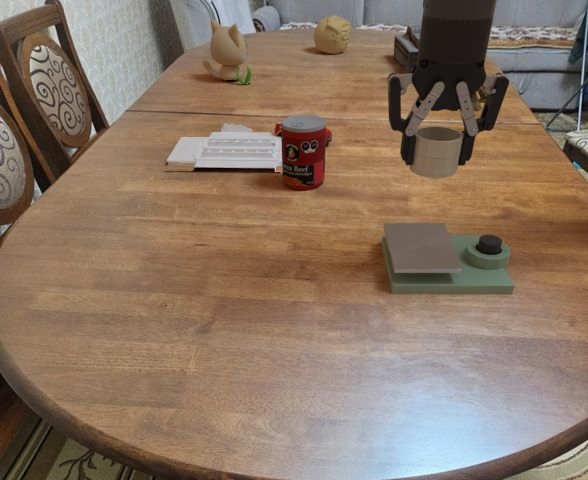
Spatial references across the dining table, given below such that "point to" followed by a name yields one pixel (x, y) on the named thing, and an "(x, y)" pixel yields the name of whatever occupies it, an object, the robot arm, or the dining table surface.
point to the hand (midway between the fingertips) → (434, 162)
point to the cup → (437, 151)
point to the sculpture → (332, 34)
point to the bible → (407, 47)
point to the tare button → (489, 244)
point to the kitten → (227, 52)
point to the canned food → (303, 151)
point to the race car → (278, 132)
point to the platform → (421, 248)
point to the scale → (474, 280)
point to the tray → (230, 149)
